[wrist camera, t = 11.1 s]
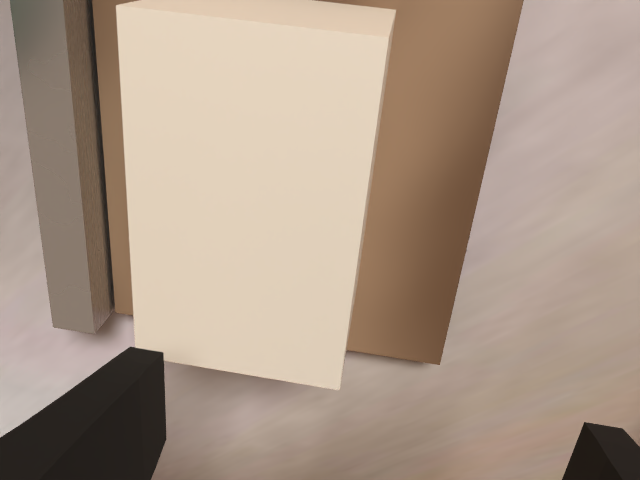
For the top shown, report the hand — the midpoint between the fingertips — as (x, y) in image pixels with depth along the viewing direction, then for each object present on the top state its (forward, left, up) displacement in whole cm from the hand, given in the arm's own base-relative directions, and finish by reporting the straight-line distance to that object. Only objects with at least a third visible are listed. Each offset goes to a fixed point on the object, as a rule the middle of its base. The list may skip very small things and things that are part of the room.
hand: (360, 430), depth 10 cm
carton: (+3, -2, -8) cm, 9 cm away
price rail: (+9, -2, -9) cm, 13 cm away
